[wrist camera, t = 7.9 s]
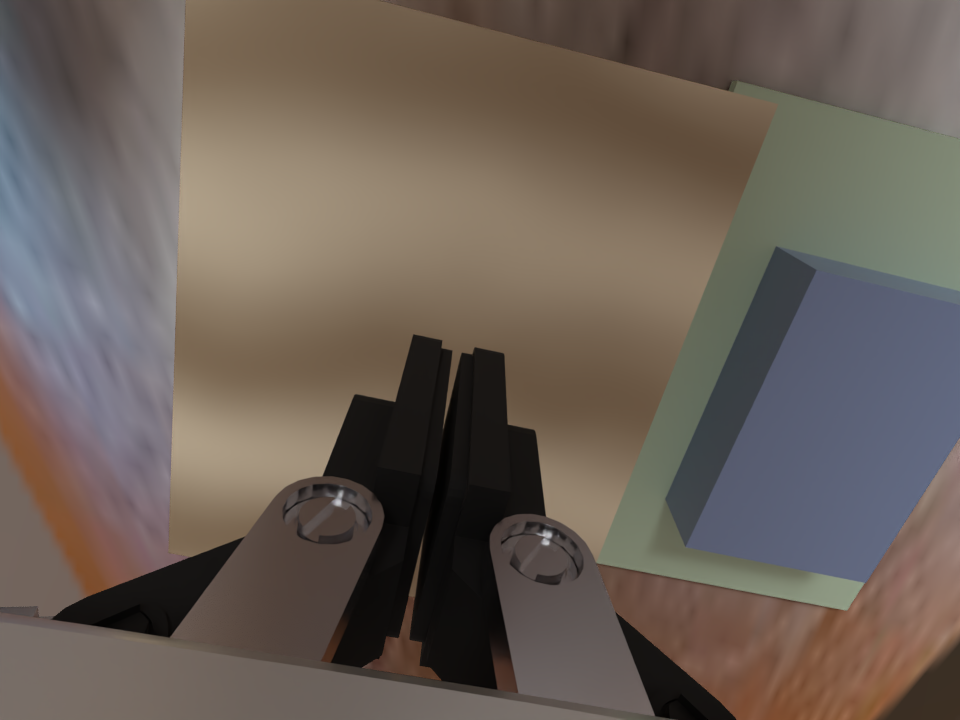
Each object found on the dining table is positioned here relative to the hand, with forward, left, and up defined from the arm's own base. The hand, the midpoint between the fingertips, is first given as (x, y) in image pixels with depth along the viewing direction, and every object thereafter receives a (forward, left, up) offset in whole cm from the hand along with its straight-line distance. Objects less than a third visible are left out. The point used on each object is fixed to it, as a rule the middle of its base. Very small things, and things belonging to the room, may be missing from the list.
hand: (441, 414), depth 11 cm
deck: (+1, 0, -8) cm, 8 cm away
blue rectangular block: (+1, +12, -6) cm, 13 cm away
